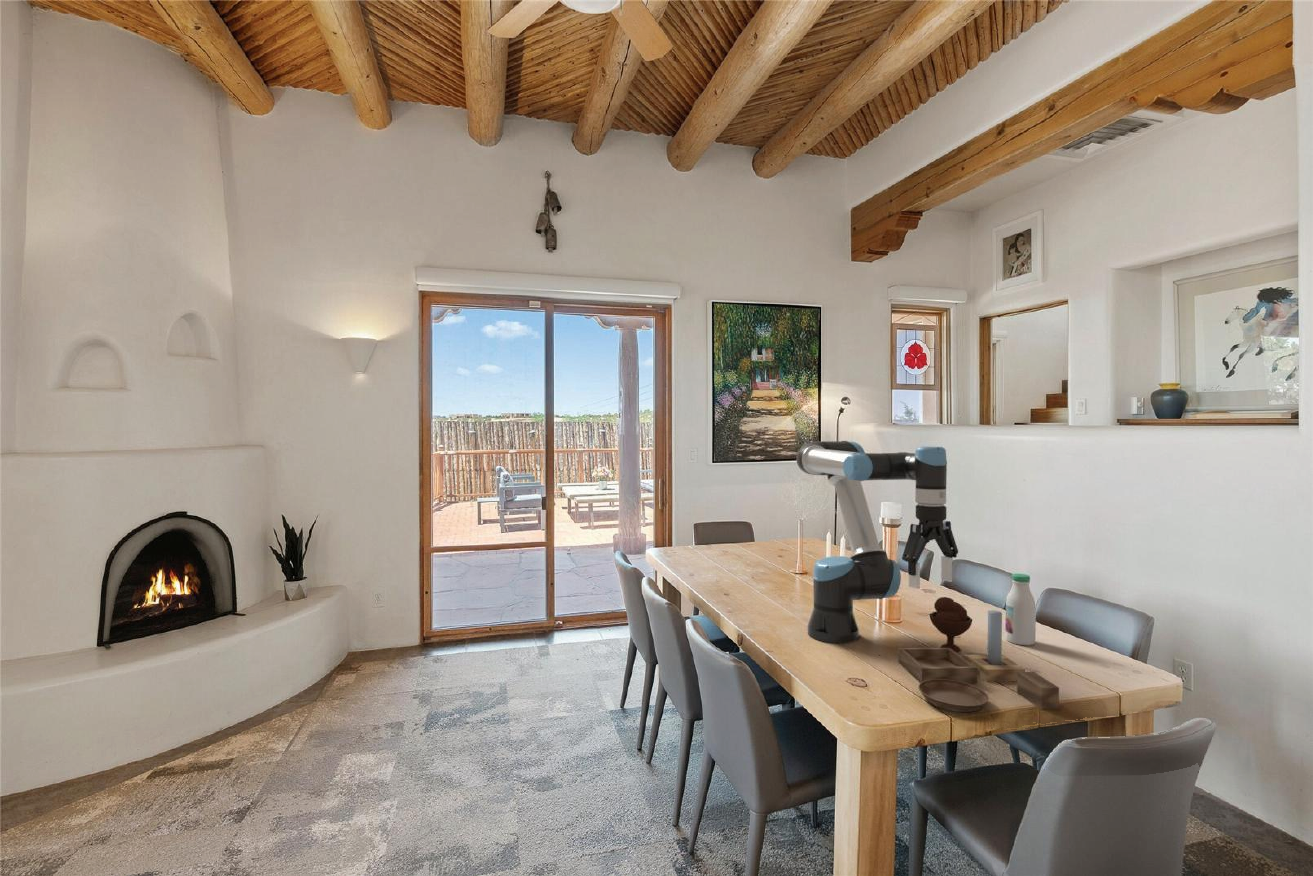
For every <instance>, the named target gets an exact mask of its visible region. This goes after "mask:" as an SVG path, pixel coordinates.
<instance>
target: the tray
mask: <svg viewBox="0 0 1313 876" xmlns="http://www.w3.org/2000/svg"><path fill="white" fill-rule="evenodd" d="M898 664H899V665H901V667H902V668H904V670H906V672H908V673H909V674H910V675H911V676H912V677H913V678H914V679H915V680H916V681H918V682H919V684H920V683H921V682H923V681H926V680H933V679H945V680H953V681H959V682H963V683H966V684H970V685H977V684H978V675H977V672H978V668H977V667H975V666H974V665H973V664H971V663H970V662H969V661H967V660H966V659H965V657H963V656H961V655H960V654H959V653H956V652H955V651H953V650H952V649H951V648H940V647H908V648H907V647H898Z"/></svg>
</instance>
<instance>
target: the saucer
mask: <svg viewBox="0 0 1313 876" xmlns="http://www.w3.org/2000/svg"><path fill="white" fill-rule="evenodd" d="M918 690H919V692H920V693H921V695H922V696H923V697H924V698H925V699H926V700H927V702H929V703H931V704H932V705H933V706H936V707H937V708H939V709H942V710H946V711H950V712H955V713H971V712H972V713H973V712H975V711H978V710H979V709H981V708H983V707H984V706H985V705H986V704H987V703H988V701H989V700H990V699H989V695H988V694H987V693H986V692H985V691H984V690H982V689H981V688H979V687H977V686H974V685H973V684H966V683H963V682H959V681H953V680H945V679H933V680H926V681H923V682H921V683H920V682H919V683H918Z"/></svg>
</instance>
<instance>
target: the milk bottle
mask: <svg viewBox="0 0 1313 876" xmlns="http://www.w3.org/2000/svg"><path fill="white" fill-rule="evenodd" d="M1030 581H1031V577H1030V575H1028V574H1024V573H1013V574H1011V582H1012V584H1011V585H1012V586H1011V588H1010V591H1009V592H1008V594H1007V597H1006V600H1005V601H1006V602H1005V631H1004V633H1005V640H1006V641H1008V642H1009V643H1011V644H1013V645H1019V646H1033V645H1035V644H1036V630H1037V626H1036V623H1037V620H1036V619H1037V617H1036V616H1037V615H1036V612H1037V611H1036V610H1037V609H1036V608H1037V607H1036V601H1035V598H1034V596H1033V594H1032V591H1031V589H1030V583H1031V582H1030Z"/></svg>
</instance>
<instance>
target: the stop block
mask: <svg viewBox="0 0 1313 876" xmlns="http://www.w3.org/2000/svg"><path fill="white" fill-rule="evenodd" d="M1016 683H1017V684H1016V685H1017V688H1016V689H1017V693H1018V694H1019V695H1020V696H1022V697H1023V698H1025V699H1026V700H1027V699H1028V700H1027V701H1029V702H1030V703H1032V704H1033V705H1034V706H1036V707H1037V708H1039V709H1040V711H1041V710H1059V709H1060V707H1059V706H1060V687H1058V686H1057V685H1056V684H1054V683H1053V682H1051V681H1049V680H1048V679H1046V678H1045V677H1043V676H1042V675H1040V674H1039V673H1037V672H1035V671H1025V672H1017V681H1016Z"/></svg>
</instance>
